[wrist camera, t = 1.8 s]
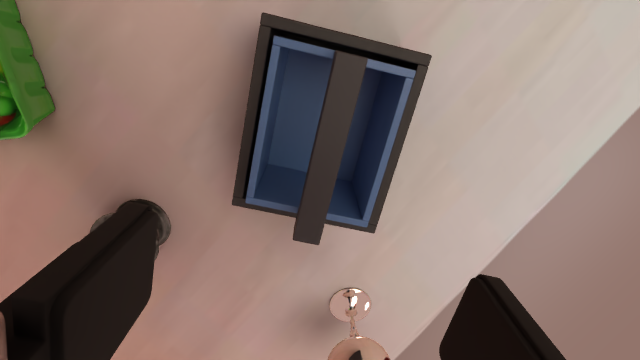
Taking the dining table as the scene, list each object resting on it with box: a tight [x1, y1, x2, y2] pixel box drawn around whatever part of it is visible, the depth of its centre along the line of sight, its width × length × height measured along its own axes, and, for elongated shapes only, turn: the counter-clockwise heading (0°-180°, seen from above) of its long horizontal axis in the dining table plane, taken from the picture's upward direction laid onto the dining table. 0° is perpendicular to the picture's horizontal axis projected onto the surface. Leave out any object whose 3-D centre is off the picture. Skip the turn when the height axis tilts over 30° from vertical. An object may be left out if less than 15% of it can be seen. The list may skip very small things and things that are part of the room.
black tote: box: [232, 13, 432, 233], centre depth 27 cm, size 13×11×7 cm
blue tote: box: [245, 36, 416, 245], centre depth 24 cm, size 11×9×12 cm
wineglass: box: [328, 288, 390, 360], centre depth 32 cm, size 6×6×12 cm
